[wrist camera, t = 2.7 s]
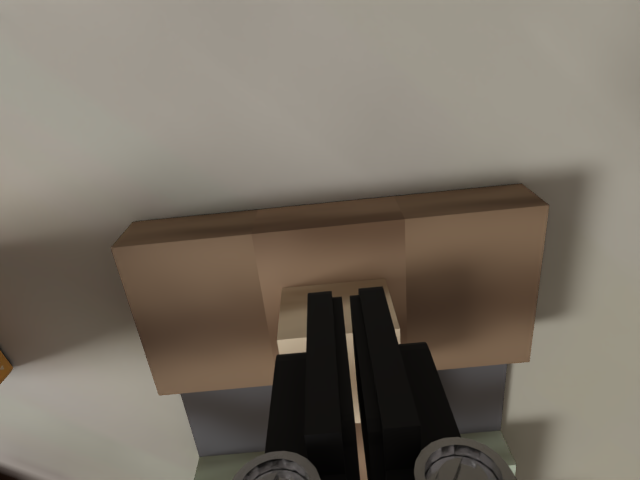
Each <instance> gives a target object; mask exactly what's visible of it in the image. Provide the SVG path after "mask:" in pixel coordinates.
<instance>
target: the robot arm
mask: <svg viewBox="0 0 640 480" xmlns="http://www.w3.org/2000/svg"><path fill="white" fill-rule="evenodd" d="M358 294H359V295H352V296H350V309H351V321H352V333H353V346H354V358H355V370H356V382H357V394H358V404H359V412H360V421H361V429H362V437H363V446H364V454H365V462H366V471H367V479H368V480H517V478H516V477H515V475H514V474H513V472H512V470H511V469H510V467H509V466H508V465H507V463H506V462H505V461H504V460H503V459H502V457H501V456H500V455H499V454H498V453H496V452H495V451H494V450H492V449H491V448H489V447H488V446H487V445H485V444H482V443H480V442H477V441H475V440H472V439H467V438H461V435H460V433H459V430H458V427H457V424H456V421H455V419H454V416H453V413H452V410H451V408H450V405H449V402H448V399H447V397H446V394H445V391H444V388H443V385H442V383H441V380H440V377H439V374H438V372H437V369H436V366H435V363H434V361H433V358H432V355H431V352H430V349H429V347H428V345H427V343H426V342H417V343H406V344H398V340H397V337H396V333H395V329H394V325H393V322H392V318H391V314H390V311H389V307H388V303H387V299H386V296H385V292H384V288H383V286H380V287H369V288H358ZM233 480H360V471H359V460H358V448H357V437H356V427H355V417H354V407H353V398H352V388H351V379H350V369H349V360H348V350H347V341H346V331H345V322H344V312H343V303H342V296H341V297H332V291H324V292H313V293H308V295H307V339H306V352H302V353H290V354H278V355H277V356H276V360H275V368H274V377H273V385H272V394H271V403H270V411H269V420H268V429H267V437H266V446H265V454H263V455H260V456H257V457H255V458H254V459H252V460H251V461H249V462H248V463H246V464H245V465H244V466H243V467H242V468H241V469H240V470H239V471H238V472H237V473H236V474H235V476H234V478H233Z"/></svg>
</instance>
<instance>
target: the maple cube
mask: <svg viewBox="0 0 640 480" xmlns="http://www.w3.org/2000/svg"><path fill="white" fill-rule="evenodd" d="M380 286H383V288H384V292H385V296H386V299H387V303H388V307H389V311H390V314H391V318H392V322H393V325H394V329H395V333H396V337H397V340H398V344H400V327H399V324H398V320H397V317H396V313H395V310H394V307H393V303H392V300H391V296H390V293H389V290H388V286H387V283H386V280H385V278H384V279H373V280H363V281H352V282H342V283H331V284H321V285H310V286H300V287H289V288H282V292H281V302H280V313H279V323H278V334H277V344H278V349H279V354H290V353H302V352H306V339H307V295H308V293H313V292H324V291H332V297H341V296H342V303H343V312H344V322H345V331H346V341H347V350H348V360H349V369H350V379H351V388H352V398H353V407H354V417H355V423H361V421H360V412H359V404H358V394H357V382H356V370H355V358H354V346H353V333H352V321H351V309H350V296H352V295H359V294H358V288H369V287H380Z"/></svg>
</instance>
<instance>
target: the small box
mask: <svg viewBox="0 0 640 480" xmlns="http://www.w3.org/2000/svg"><path fill="white" fill-rule="evenodd" d="M12 369H13V367H12V365H11V364H10V363H9V361H8V360H7V359H6V358H5V356H4V355H3V353H2V352H1V350H0V384H1V383H2V382H3V381H4V379H5V378H6V377H7V376H8V375H9V374H10V372H11V371H12Z"/></svg>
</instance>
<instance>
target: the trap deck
mask: <svg viewBox="0 0 640 480" xmlns="http://www.w3.org/2000/svg"><path fill="white" fill-rule="evenodd" d="M548 211H549V205H548V204H547V203H546V202H545V201H543V200H542V199H541V198H539V197H538V196H537V195H536V194H534V193H533V192H532V191H531V190H529V189H528V188H527V187H525V186H524V185H523V184H512V185H502V186H492V187H482V188H471V189H461V190H451V191H441V192H431V193H421V194H411V195H400V196H390V197H380V198H370V199H360V200H350V201H339V202H329V203H319V204H309V205H299V206H289V207H279V208H268V209H258V210H248V211H238V212H228V213H218V214H208V215H197V216H187V217H177V218H167V219H157V220H147V221H136V222H132V223H131V225H130V226H129V227H128V228H127V229H126V230H125V232H124V233H123V234H122V235H121V236H120V238H119V239H118V240H117V241H116V242H115V243H114V245H113V246H112V247H111V250H112V254H113V257H114V260H115V263H116V266H117V269H118V272H119V275H120V278H121V281H122V284H123V287H124V290H125V293H126V296H127V299H128V303H129V306H130V309H131V312H132V315H133V318H134V321H135V324H136V327H137V330H138V333H139V336H140V339H141V342H142V345H143V348H144V351H145V355H146V358H147V361H148V364H149V367H150V370H151V373H152V376H153V379H154V382H155V385H156V388H157V391H158V394H159V395H170V394H181V397H182V400H183V403H184V407H185V410H186V413H187V417H188V420H189V423H190V427H191V430H192V433H193V437H194V440H195V443H196V447H197V450H198V454H199V461H198V465H197V470H196V474H195V478H194V480H233V478H234V476H235V474H236V473H237V472H238V471H239V470H240V469H241V468H242V467H243V466H244V465H245V464H246V463H248V462H249V461H251V460H252V459H254V458H255V457H257V456H260V455H263V454H265V446H266V437H267V429H268V420H269V411H270V403H271V394H272V385H273V377H274V368H275V360H276V356H277V355H278V354H279V349H278V344H277V334H278V323H279V313H280V302H281V292H282V288H289V287H300V286H310V285H321V284H331V283H342V282H352V281H363V280H373V279H384V278H385V280H386V283H387V286H388V290H389V293H390V296H391V300H392V303H393V307H394V310H395V313H396V317H397V320H398V324H399V327H400V344H406V343H417V342H426V343H427V345H428V347H429V349H430V352H431V355H432V358H433V361H434V363H435V366H436V369H437V372H438V374H439V377H440V380H441V383H442V385H443V388H444V391H445V394H446V397H447V399H448V402H449V405H450V408H451V410H452V413H453V416H454V419H455V421H456V424H457V427H458V430H459V433H460V435H461V438H467V439H472V440H475V441H477V442H480V443H482V444H485V445H487V446H488V447H489V448H491V449H492V450H494V451H495V452H496V453H498V454H499V455H500V456H501V457H502V459H503V460H504V461H505V462H506V463H507V465H508V466H509V467H510V469H511V470H512V472H513V474H514V475H515V471H516V463H515V461H514V459H513V457H512V454H511V452H510V450H509V448H508V446H507V444H506V442H505V439H504V437H503V435H502V433H501V431H500V429H501V420H502V410H503V400H504V390H505V380H506V370H507V364H511V363H522V362H529V361H530V353H531V345H532V337H533V330H534V322H535V314H536V306H537V298H538V290H539V282H540V274H541V266H542V259H543V251H544V243H545V235H546V227H547V219H548ZM355 427H356V437H357V448H358V460H359V471H360V480H368V479H367V471H366V462H365V454H364V446H363V437H362V429H361V423H355Z"/></svg>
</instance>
